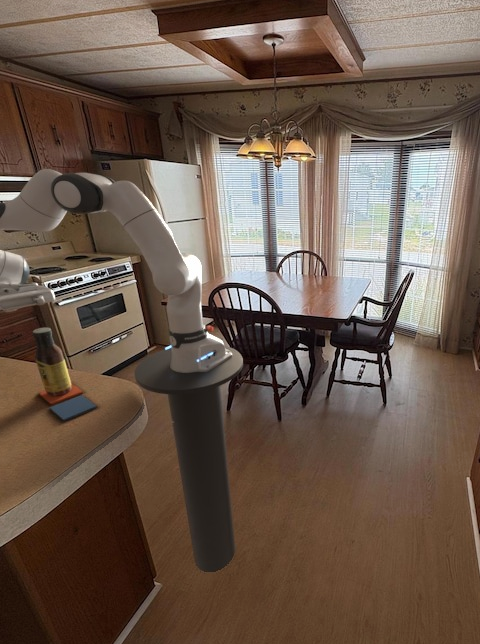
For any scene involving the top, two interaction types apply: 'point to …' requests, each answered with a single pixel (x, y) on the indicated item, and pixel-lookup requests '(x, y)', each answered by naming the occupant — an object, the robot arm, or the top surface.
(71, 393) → the terracotta pad
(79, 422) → the top surface
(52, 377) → the sauce bottle
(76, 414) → the blue pad
